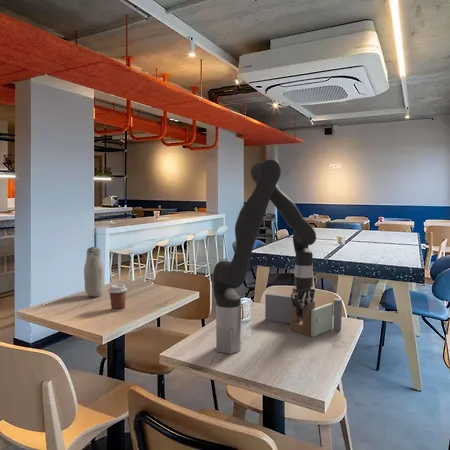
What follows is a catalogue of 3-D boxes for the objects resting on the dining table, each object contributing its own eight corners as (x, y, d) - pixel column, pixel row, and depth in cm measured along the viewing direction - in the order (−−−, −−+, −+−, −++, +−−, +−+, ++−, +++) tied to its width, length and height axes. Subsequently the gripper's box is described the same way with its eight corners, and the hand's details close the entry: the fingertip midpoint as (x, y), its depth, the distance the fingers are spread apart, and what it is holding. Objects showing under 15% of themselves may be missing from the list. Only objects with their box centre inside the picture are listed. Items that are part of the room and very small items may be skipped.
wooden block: (308, 336, 158) (309, 293, 156) (289, 328, 166) (290, 288, 165) (314, 334, 160) (315, 292, 158) (295, 327, 169) (296, 286, 167)
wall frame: (340, 330, 164) (341, 300, 163) (264, 320, 177) (265, 292, 176) (341, 328, 167) (342, 298, 166) (266, 318, 180) (267, 291, 178)
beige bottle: (81, 298, 213) (79, 247, 210) (93, 293, 223) (91, 245, 220) (97, 299, 210) (95, 248, 208) (107, 294, 220) (106, 246, 217)
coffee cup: (130, 306, 197) (129, 283, 196) (123, 312, 188) (123, 288, 187) (113, 306, 198) (112, 283, 197) (105, 311, 189) (105, 287, 188)
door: (335, 329, 165) (336, 304, 164) (317, 337, 156) (317, 311, 155) (329, 327, 167) (329, 302, 166) (310, 335, 158) (311, 309, 157)
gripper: (300, 279, 153) (299, 321, 155) (321, 274, 163) (320, 313, 164) (285, 276, 159) (285, 316, 160) (306, 271, 168) (305, 309, 170)
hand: (302, 314), depth 162 cm, fingers open, 4 cm apart
